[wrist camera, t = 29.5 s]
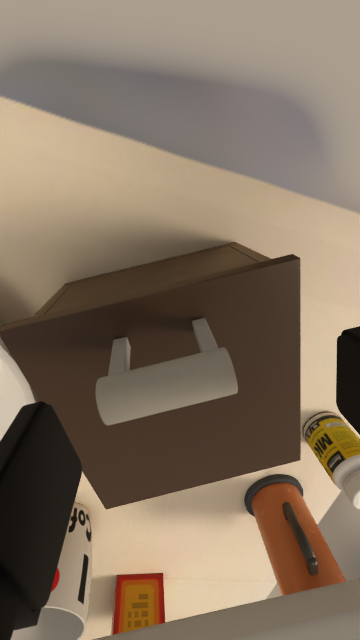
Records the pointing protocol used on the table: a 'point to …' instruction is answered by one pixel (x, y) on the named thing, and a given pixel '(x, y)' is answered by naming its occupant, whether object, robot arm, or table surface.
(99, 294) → the dark wooden lidded box
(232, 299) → the box top
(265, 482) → the coaster
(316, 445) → the supplement bottle
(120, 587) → the baking soda box
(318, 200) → the table surface
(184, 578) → the table surface
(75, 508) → the cup
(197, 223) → the table surface
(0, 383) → the bowl
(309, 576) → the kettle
